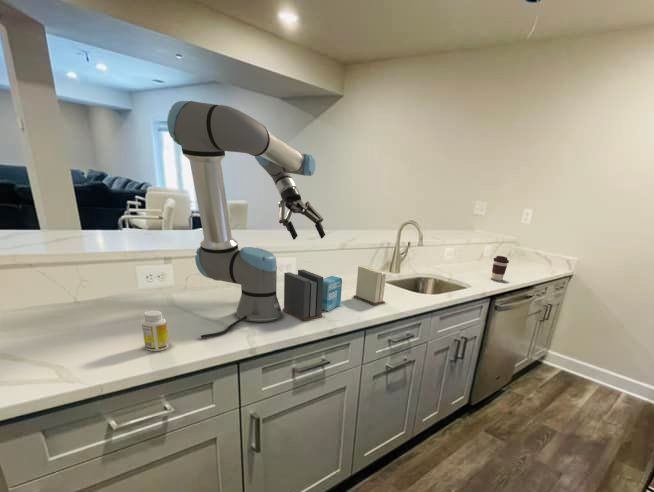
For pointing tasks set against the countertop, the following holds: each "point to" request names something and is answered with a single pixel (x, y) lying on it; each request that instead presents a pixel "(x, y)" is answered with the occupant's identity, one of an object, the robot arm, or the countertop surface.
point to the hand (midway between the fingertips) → (309, 237)
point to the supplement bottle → (155, 331)
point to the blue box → (331, 292)
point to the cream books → (370, 285)
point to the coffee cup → (499, 267)
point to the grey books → (303, 294)
